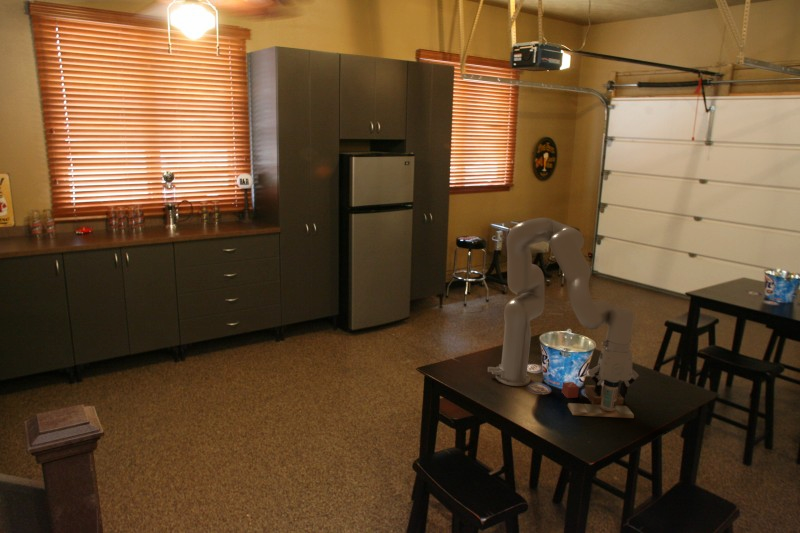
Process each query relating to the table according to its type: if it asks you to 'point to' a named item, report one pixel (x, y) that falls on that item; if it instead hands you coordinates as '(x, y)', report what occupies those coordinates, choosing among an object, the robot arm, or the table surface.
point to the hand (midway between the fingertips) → (610, 395)
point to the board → (599, 410)
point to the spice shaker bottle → (609, 395)
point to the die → (570, 389)
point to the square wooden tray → (597, 400)
